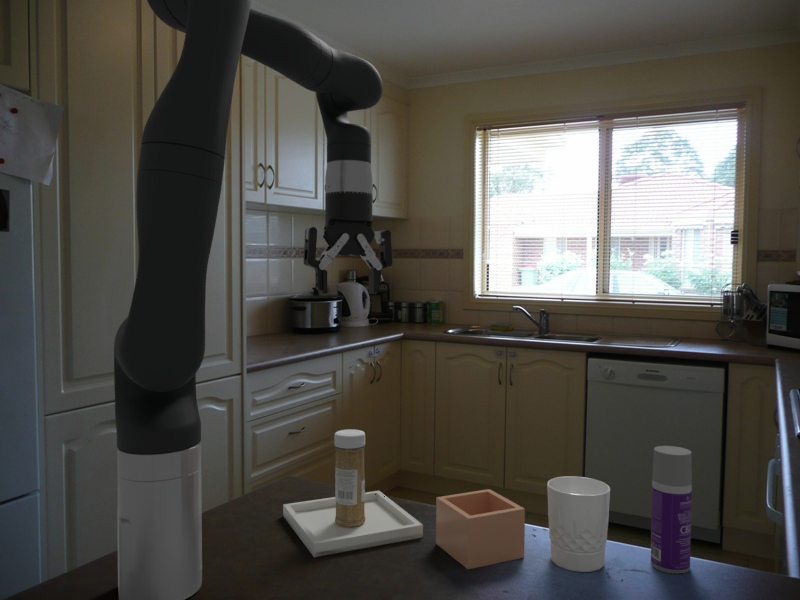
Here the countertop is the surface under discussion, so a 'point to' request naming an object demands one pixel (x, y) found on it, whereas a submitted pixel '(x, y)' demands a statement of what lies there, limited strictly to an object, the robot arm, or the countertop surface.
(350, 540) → the tray
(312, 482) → the countertop surface
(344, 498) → the sprinkles bottle
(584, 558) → the white cup
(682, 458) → the container
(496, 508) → the pot
